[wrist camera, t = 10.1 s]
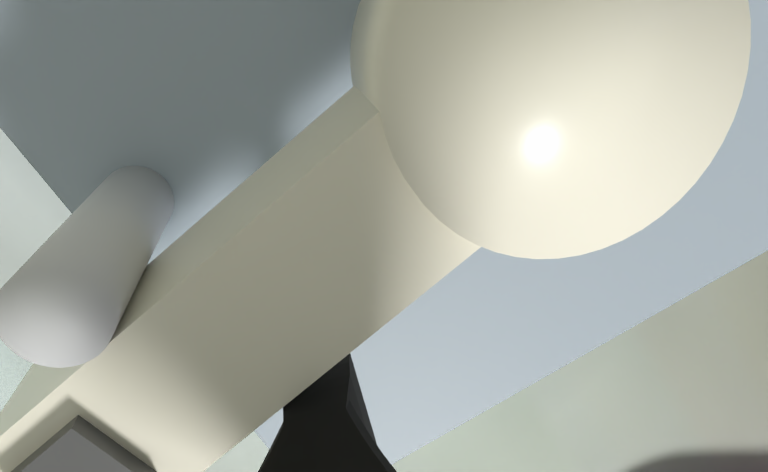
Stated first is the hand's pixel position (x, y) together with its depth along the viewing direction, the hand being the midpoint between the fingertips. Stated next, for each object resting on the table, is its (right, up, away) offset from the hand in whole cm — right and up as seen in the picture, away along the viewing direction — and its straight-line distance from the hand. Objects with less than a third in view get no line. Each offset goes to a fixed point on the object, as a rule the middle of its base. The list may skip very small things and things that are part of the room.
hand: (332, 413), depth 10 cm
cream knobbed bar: (0, +3, 0) cm, 3 cm away
